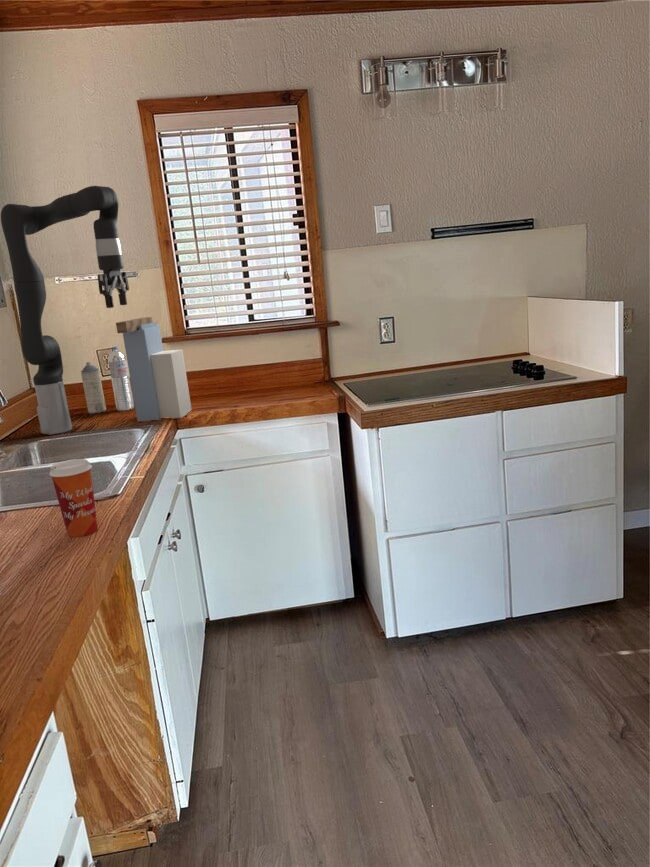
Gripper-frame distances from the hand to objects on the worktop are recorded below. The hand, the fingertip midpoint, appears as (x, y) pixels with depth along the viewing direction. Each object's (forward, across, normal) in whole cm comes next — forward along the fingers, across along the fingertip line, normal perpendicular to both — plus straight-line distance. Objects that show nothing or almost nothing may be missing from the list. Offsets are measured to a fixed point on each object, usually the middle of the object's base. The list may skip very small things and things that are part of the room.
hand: (117, 306), depth 205 cm
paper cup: (+36, -88, -36) cm, 102 cm away
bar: (+9, +14, +2) cm, 17 cm away
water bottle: (+44, +34, +22) cm, 59 cm away
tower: (+42, +17, +1) cm, 45 cm away
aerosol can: (+44, +31, +33) cm, 63 cm away
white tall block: (+41, +18, -7) cm, 46 cm away
